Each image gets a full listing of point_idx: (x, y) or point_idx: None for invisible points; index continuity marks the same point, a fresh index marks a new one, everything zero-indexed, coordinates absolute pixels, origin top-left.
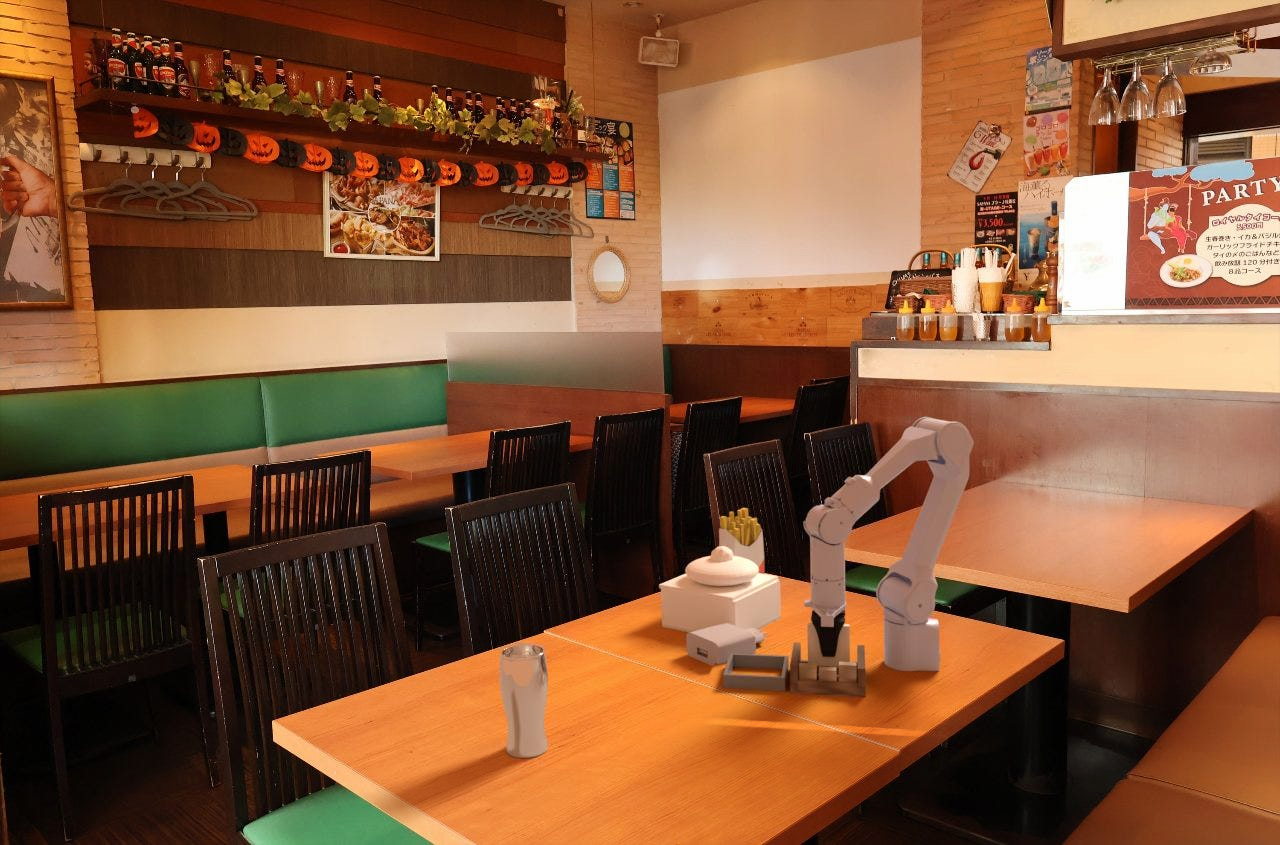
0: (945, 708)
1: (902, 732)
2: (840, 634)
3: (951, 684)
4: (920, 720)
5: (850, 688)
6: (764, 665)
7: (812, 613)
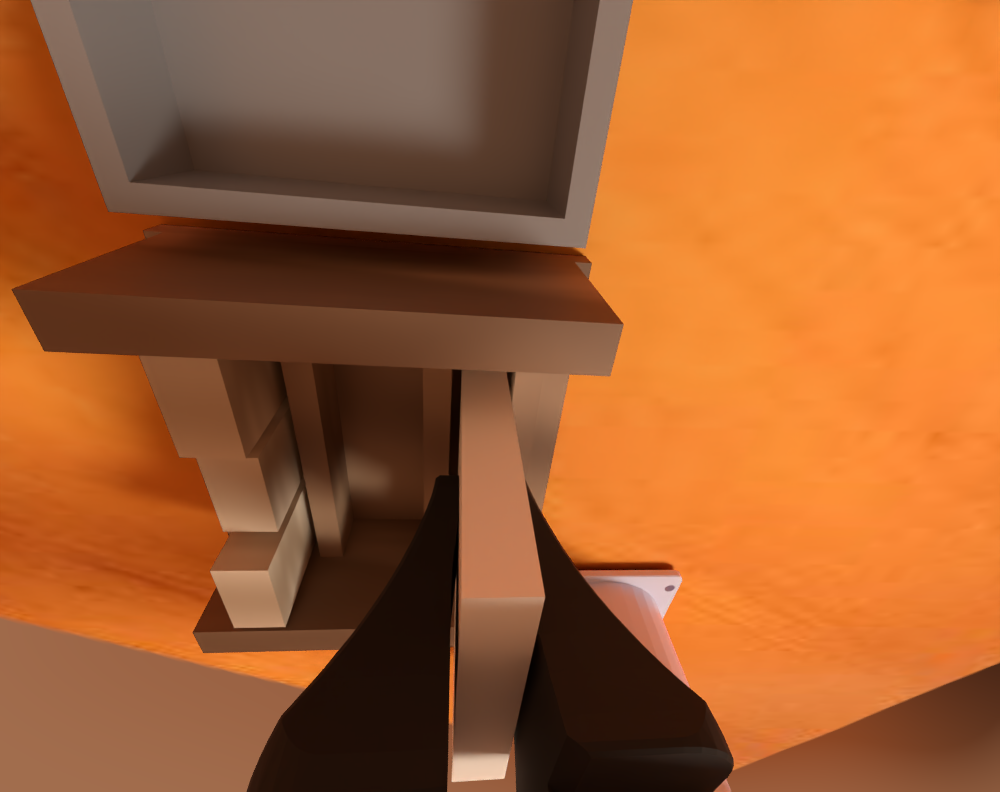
0: (284, 668)
1: (35, 597)
2: (454, 679)
3: None
4: (165, 630)
5: None
6: (578, 27)
7: (584, 754)
